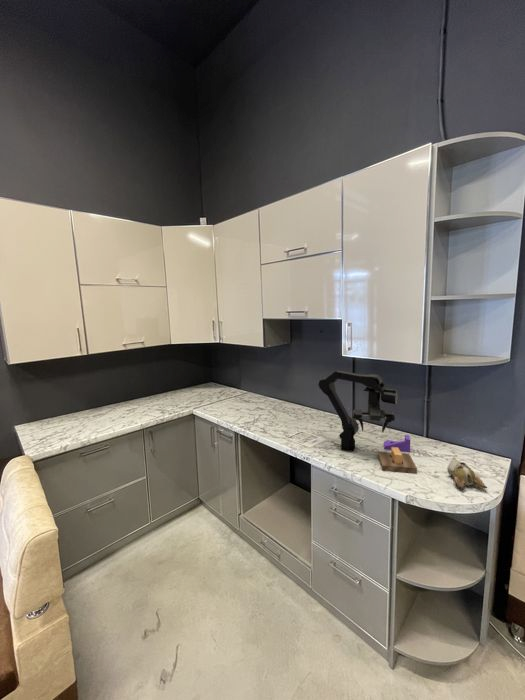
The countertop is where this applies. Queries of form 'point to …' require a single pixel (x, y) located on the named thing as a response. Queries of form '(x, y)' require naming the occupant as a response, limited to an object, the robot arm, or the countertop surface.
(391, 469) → the brown slotted square board
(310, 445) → the photo frame
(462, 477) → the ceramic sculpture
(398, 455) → the tan wooden block
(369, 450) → the countertop surface
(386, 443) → the bracket
